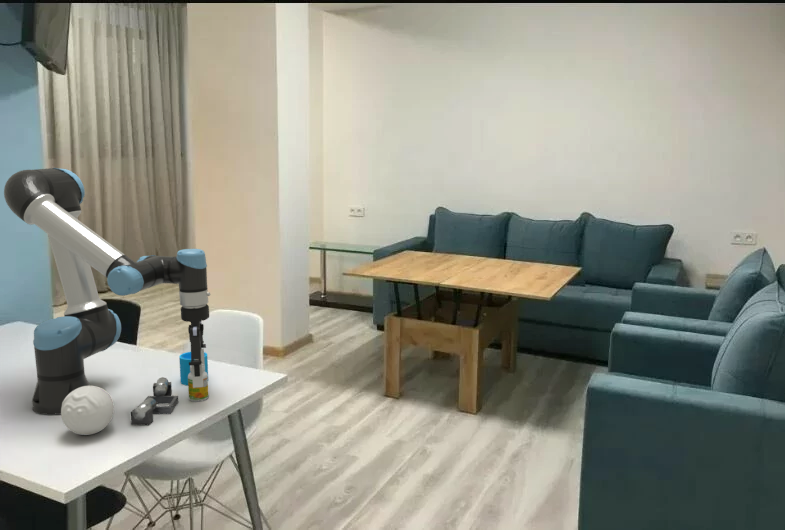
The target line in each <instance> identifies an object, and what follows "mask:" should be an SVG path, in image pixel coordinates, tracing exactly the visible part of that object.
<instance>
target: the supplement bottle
mask: <svg viewBox="0 0 785 530" xmlns="http://www.w3.org/2000/svg"><path fill="white" fill-rule="evenodd" d="M204 370H205V365H204V364H202V371H203V387H196V388H193V380H192V365H191V366H190V371H191V372H190V373H189V374H188V386H187V387H188V388H187V389H188V399H189V401H191V402H204V401H206V400H208V399H209V373H208V374H207V372H205V371H204Z"/></svg>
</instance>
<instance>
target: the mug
mask: <svg viewBox="0 0 785 530" xmlns="http://www.w3.org/2000/svg"><path fill="white" fill-rule="evenodd" d="M194 360H195V359H194ZM178 361H179V378H180V384H181V385H182V386H183V385H184V386H187V387H188V374H189V373H190V372H191V371H190V366H191V365H189V362H191V351H186V352H183V353H181V354H180V355H179V360H178ZM204 361H205V372H207V374H208V375H209V364H208V362H209V361H208V353H207V352H206V351H204Z"/></svg>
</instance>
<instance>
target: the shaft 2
mask: <svg viewBox="0 0 785 530" xmlns="http://www.w3.org/2000/svg"><path fill="white" fill-rule="evenodd" d="M152 394H153V395H152V396H173V395H172V394H173V389H172V381H169V380H168V378H167V377H163V376H162V377H159V378H158V379H157V381H156V382H154V383H153V384H152Z"/></svg>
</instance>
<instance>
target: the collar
mask: <svg viewBox="0 0 785 530" xmlns="http://www.w3.org/2000/svg"><path fill="white" fill-rule="evenodd" d="M148 398H153V399H155V400H156V402H157V406H156V408H155V409H154V410H153V415H172V413H173V412H174V410H175V409H176V407H177V406H178V405H179V395H171V396H153V395H148V396H147V397H146V398H145V399H144V401H145V400H147V399H148ZM164 404H167V405H164Z"/></svg>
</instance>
